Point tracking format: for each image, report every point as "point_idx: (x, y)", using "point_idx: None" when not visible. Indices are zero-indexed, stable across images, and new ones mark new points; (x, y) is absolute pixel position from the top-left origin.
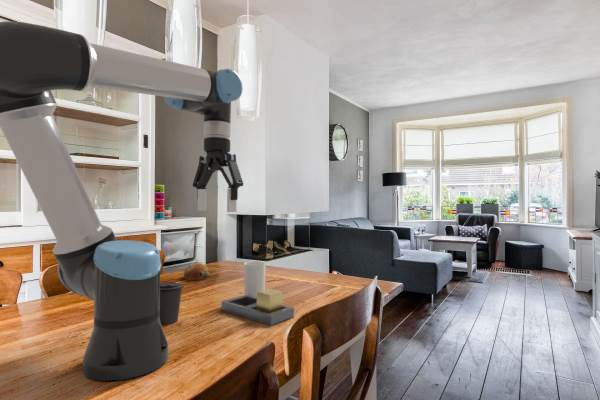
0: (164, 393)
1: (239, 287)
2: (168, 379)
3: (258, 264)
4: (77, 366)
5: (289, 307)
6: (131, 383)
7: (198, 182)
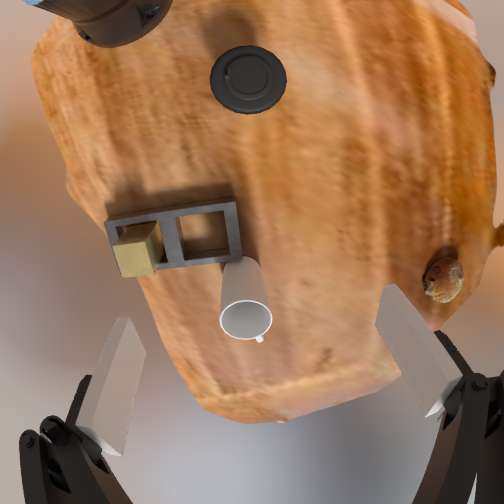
0: (42, 37)
1: (337, 299)
2: (58, 41)
3: (256, 331)
4: None
5: None
6: None
7: (483, 415)
